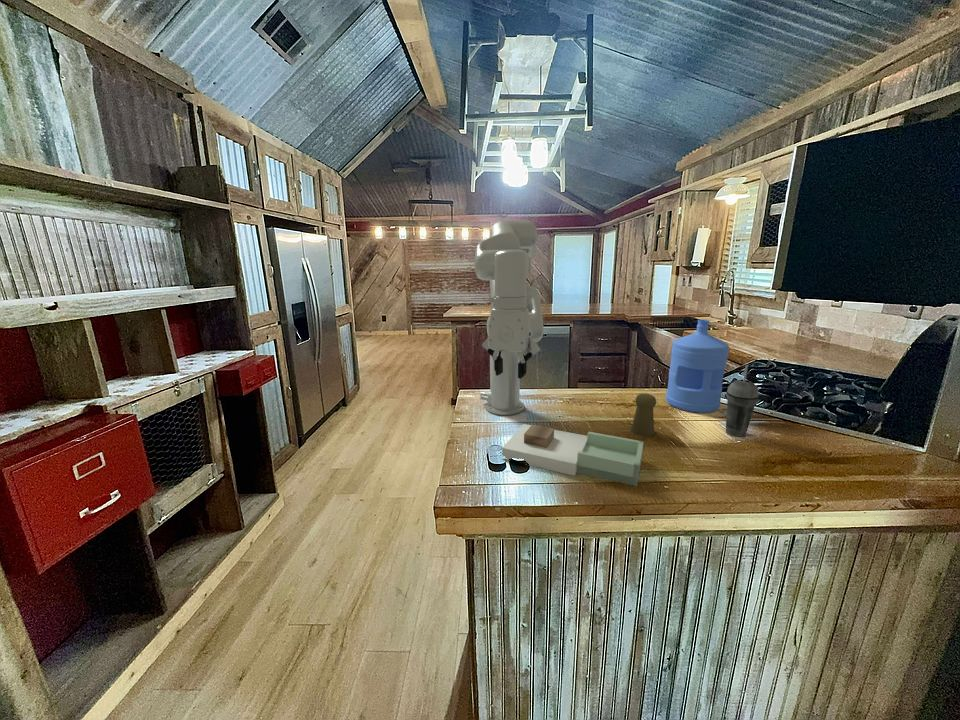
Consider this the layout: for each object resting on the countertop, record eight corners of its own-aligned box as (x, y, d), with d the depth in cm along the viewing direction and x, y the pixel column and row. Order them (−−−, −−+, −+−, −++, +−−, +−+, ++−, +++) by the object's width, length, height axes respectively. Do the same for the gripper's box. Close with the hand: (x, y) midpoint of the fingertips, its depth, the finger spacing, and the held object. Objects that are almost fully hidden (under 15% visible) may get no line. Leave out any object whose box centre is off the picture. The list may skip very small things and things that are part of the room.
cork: (629, 434, 105) (633, 397, 102) (632, 425, 110) (635, 390, 107) (653, 438, 102) (657, 400, 100) (655, 429, 108) (659, 393, 105)
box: (576, 472, 87) (577, 453, 86) (587, 449, 97) (588, 431, 96) (637, 486, 81) (639, 466, 80) (641, 460, 92) (643, 441, 90)
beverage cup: (753, 433, 104) (767, 363, 99) (748, 442, 99) (762, 369, 94) (723, 425, 109) (734, 358, 104) (717, 434, 104) (728, 364, 99)
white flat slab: (502, 458, 94) (502, 447, 93) (523, 433, 107) (523, 423, 106) (575, 475, 86) (575, 464, 85) (588, 446, 99) (589, 436, 98)
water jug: (657, 396, 133) (666, 316, 125) (703, 395, 132) (715, 316, 125) (678, 414, 118) (690, 325, 110) (730, 413, 117) (745, 324, 110)
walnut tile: (523, 443, 95) (524, 433, 94) (531, 433, 100) (531, 424, 100) (547, 447, 92) (547, 438, 92) (553, 437, 98) (554, 428, 97)
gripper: (471, 304, 91) (473, 375, 96) (539, 307, 84) (538, 384, 89) (485, 300, 98) (486, 367, 102) (549, 303, 90) (547, 375, 95)
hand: (510, 374), depth 95 cm, fingers open, 5 cm apart
